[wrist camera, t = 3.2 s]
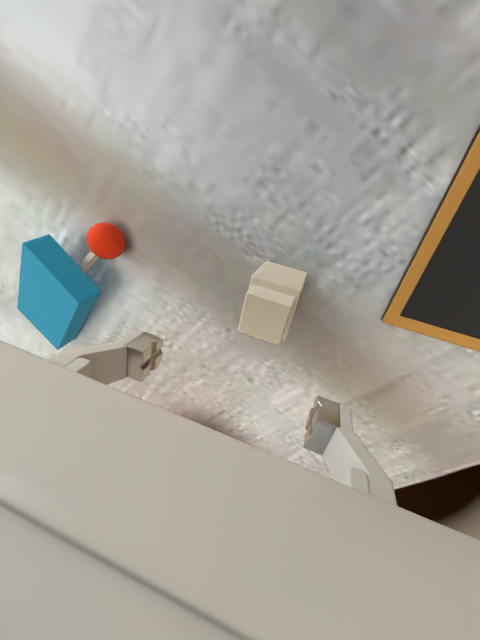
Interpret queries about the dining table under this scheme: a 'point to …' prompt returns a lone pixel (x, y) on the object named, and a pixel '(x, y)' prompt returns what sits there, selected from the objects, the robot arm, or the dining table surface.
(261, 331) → the stepped beige block
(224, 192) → the dining table surface
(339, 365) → the dining table surface
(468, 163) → the centre mat
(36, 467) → the robot arm
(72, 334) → the lever
